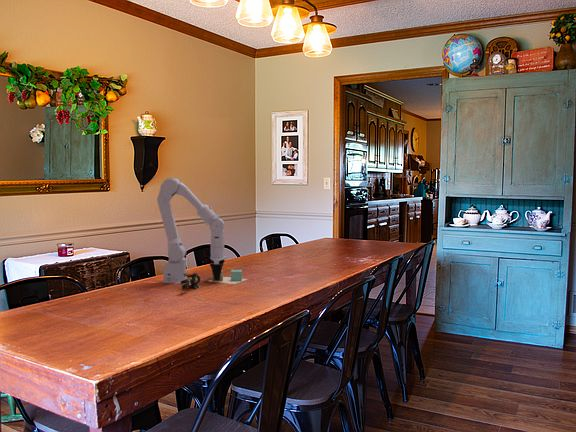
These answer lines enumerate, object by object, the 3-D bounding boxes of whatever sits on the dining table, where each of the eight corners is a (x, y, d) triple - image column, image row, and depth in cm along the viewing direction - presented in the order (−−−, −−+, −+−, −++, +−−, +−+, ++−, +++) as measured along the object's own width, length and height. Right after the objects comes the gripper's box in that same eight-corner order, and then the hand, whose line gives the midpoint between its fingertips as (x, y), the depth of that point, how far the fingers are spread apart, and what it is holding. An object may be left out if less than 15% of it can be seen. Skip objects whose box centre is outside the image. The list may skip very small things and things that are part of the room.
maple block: (222, 281, 211) (222, 271, 210) (211, 281, 210) (211, 271, 210) (223, 279, 215) (223, 269, 215) (212, 279, 215) (212, 270, 214)
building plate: (234, 285, 205) (234, 284, 205) (206, 282, 211) (206, 280, 211) (247, 280, 215) (247, 279, 215) (221, 277, 221) (221, 276, 221)
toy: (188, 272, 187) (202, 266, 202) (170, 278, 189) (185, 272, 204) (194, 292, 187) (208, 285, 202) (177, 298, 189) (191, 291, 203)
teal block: (241, 281, 211) (241, 271, 211) (231, 281, 211) (231, 271, 210) (241, 278, 216) (241, 269, 215) (231, 279, 215) (231, 269, 215)
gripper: (226, 249, 205) (226, 281, 206) (227, 244, 219) (227, 274, 220) (208, 249, 204) (208, 281, 205) (211, 244, 219) (211, 275, 220)
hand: (217, 278), depth 213 cm, fingers open, 7 cm apart
